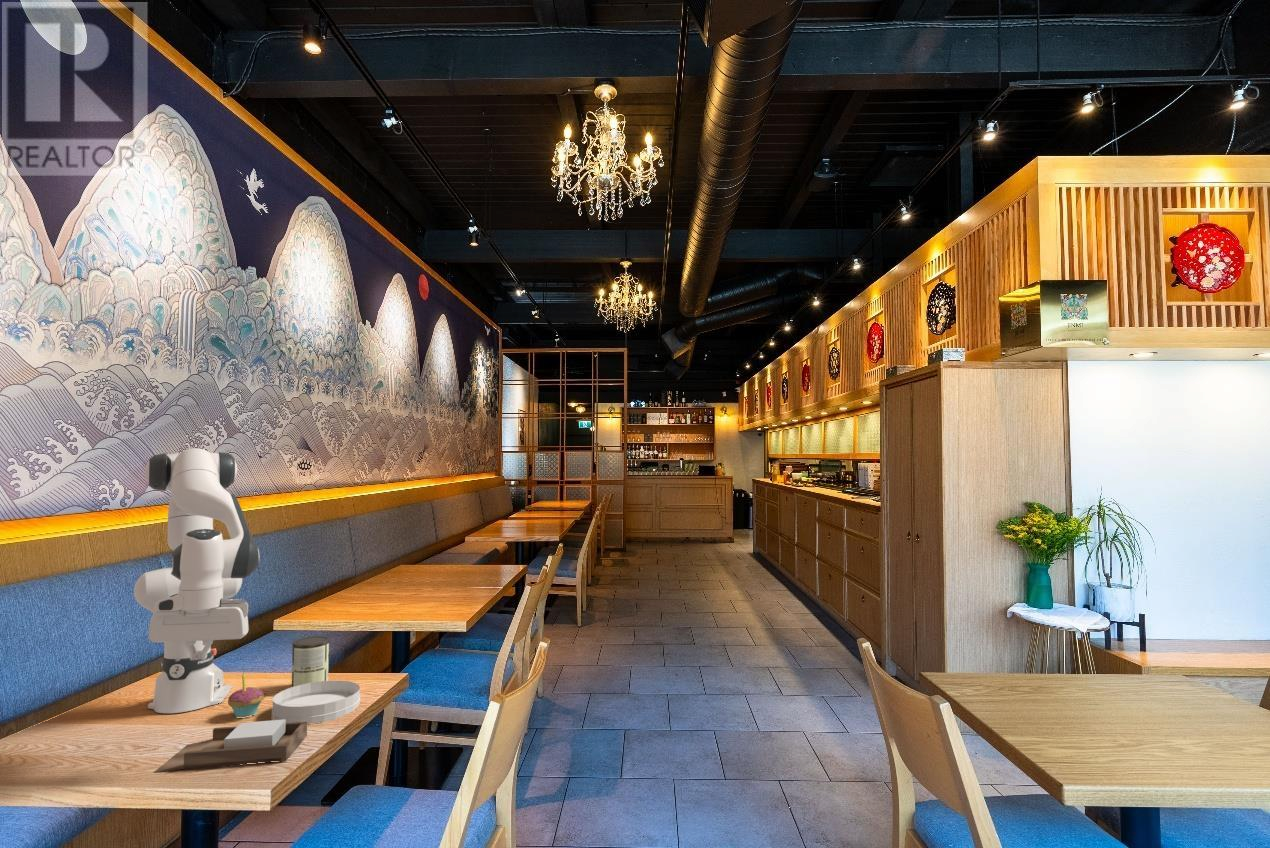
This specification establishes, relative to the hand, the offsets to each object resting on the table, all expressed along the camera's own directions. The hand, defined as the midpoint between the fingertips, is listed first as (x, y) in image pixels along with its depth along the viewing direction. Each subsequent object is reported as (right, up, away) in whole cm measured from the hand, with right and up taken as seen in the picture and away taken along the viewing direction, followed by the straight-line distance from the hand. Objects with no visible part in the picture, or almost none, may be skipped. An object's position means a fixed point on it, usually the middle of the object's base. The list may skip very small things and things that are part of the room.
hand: (198, 659), depth 154 cm
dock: (+9, -22, 0) cm, 24 cm away
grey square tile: (+13, -21, +1) cm, 25 cm away
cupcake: (-3, -24, +24) cm, 34 cm away
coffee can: (+3, -26, +47) cm, 54 cm away
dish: (+15, -24, +27) cm, 39 cm away
